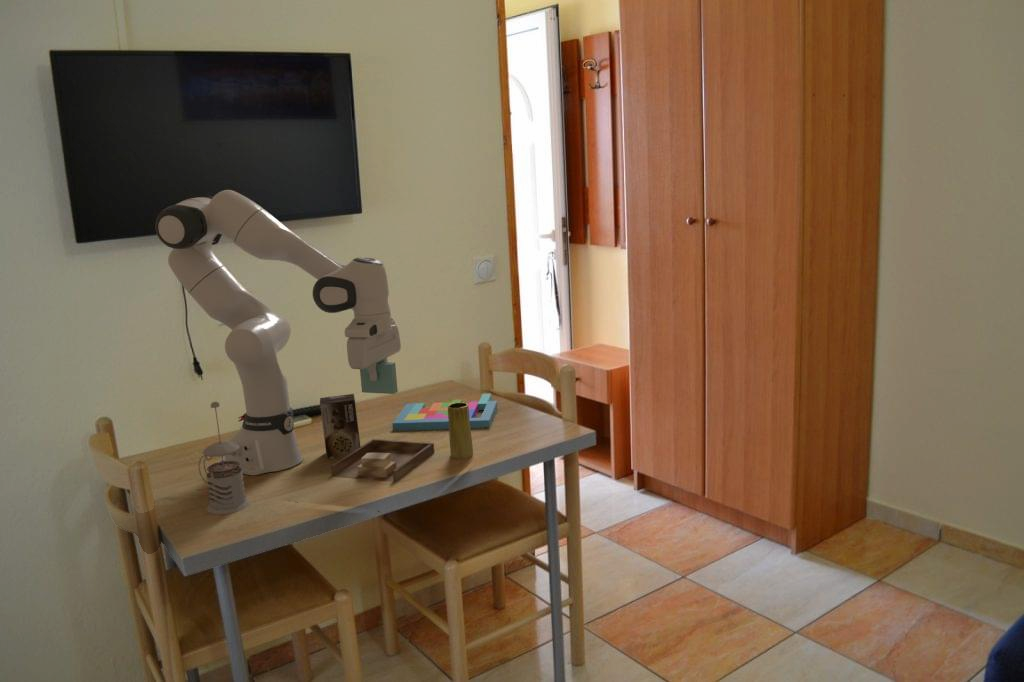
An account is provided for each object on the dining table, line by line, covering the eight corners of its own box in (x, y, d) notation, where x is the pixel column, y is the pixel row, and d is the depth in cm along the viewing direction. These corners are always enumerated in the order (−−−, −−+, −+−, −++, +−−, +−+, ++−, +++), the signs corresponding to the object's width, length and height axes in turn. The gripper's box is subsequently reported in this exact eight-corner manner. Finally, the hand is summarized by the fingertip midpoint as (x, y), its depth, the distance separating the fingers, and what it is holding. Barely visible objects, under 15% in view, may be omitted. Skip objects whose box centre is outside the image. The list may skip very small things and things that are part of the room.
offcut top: (362, 466, 211) (361, 458, 210) (368, 461, 214) (367, 452, 214) (385, 467, 209) (384, 458, 209) (391, 461, 213) (390, 453, 212)
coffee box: (360, 451, 232) (354, 393, 229) (361, 458, 226) (355, 399, 223) (326, 455, 231) (319, 397, 227) (326, 463, 224) (319, 403, 221)
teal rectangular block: (362, 392, 217) (359, 363, 215) (366, 390, 219) (363, 361, 217) (393, 393, 214) (391, 364, 212) (397, 391, 215) (395, 362, 214)
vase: (452, 464, 218) (447, 409, 215) (448, 456, 224) (444, 403, 221) (476, 460, 219) (472, 406, 216) (471, 453, 225) (467, 400, 222)
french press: (231, 516, 194) (216, 409, 188) (191, 510, 198) (175, 406, 193) (259, 499, 202) (246, 396, 197) (221, 494, 207) (207, 394, 202)
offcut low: (358, 475, 211) (357, 466, 211) (368, 467, 216) (367, 459, 215) (386, 477, 208) (385, 469, 208) (396, 470, 213) (395, 461, 213)
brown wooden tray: (331, 479, 212) (329, 466, 211) (374, 451, 231) (373, 438, 230) (396, 485, 206) (394, 471, 205) (434, 455, 225) (433, 443, 224)
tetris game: (489, 429, 245) (500, 401, 273) (489, 420, 245) (500, 393, 272) (393, 432, 248) (413, 404, 276) (392, 423, 248) (412, 396, 275)
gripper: (382, 315, 223) (387, 367, 226) (340, 331, 204) (346, 388, 207) (404, 315, 221) (408, 368, 224) (363, 332, 202) (369, 389, 205)
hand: (378, 378), depth 215 cm, fingers closed on teal rectangular block, 2 cm apart
